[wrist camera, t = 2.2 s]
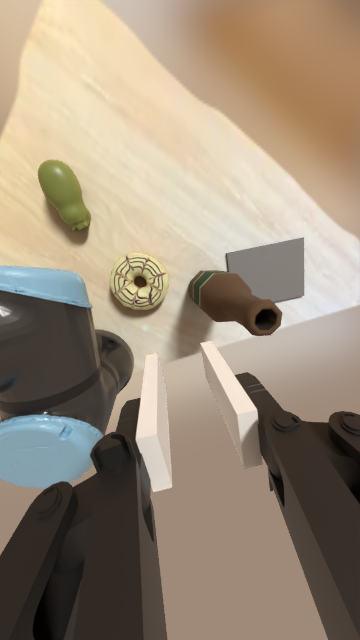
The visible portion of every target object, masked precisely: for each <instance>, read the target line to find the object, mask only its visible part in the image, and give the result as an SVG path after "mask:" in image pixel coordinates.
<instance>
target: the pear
mask: <svg viewBox="0 0 360 640" xmlns="http://www.w3.org/2000/svg"><path fill="white" fill-rule="evenodd" d="M38 179H39V183H40V186H41V188H42V191H43V193H44V195H45V196H46V198H47V200H48V201H49V202H50V203H51V204H52V205H53V206H54V207H55V208H56V210H57V211H58V213H59V215H60V217H61V219H62V220H63V221H64V222H65V223H66V224H68V225H69V226H70V227H71V229H72V231H75V230H76V229H77V230H79V231H80V230H81V229H82V228H85V227H88V225H90V213H89V211H88V210H87V209H86V207H85V205H84V202H83V199H82V191H81V188H80V185H79V182H78V180H77V178H76V176H75V174H74V173H73V171H72V170H71V169H70V168H69V167H68V166H67V165H66V164H65V163H63V162H61V161H58V160H47V161H45V162H43V163H42V164H41V165H40V167H39V169H38Z"/></svg>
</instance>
